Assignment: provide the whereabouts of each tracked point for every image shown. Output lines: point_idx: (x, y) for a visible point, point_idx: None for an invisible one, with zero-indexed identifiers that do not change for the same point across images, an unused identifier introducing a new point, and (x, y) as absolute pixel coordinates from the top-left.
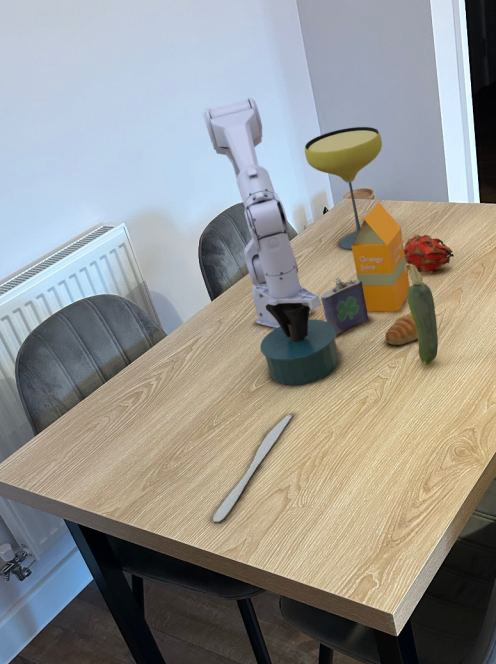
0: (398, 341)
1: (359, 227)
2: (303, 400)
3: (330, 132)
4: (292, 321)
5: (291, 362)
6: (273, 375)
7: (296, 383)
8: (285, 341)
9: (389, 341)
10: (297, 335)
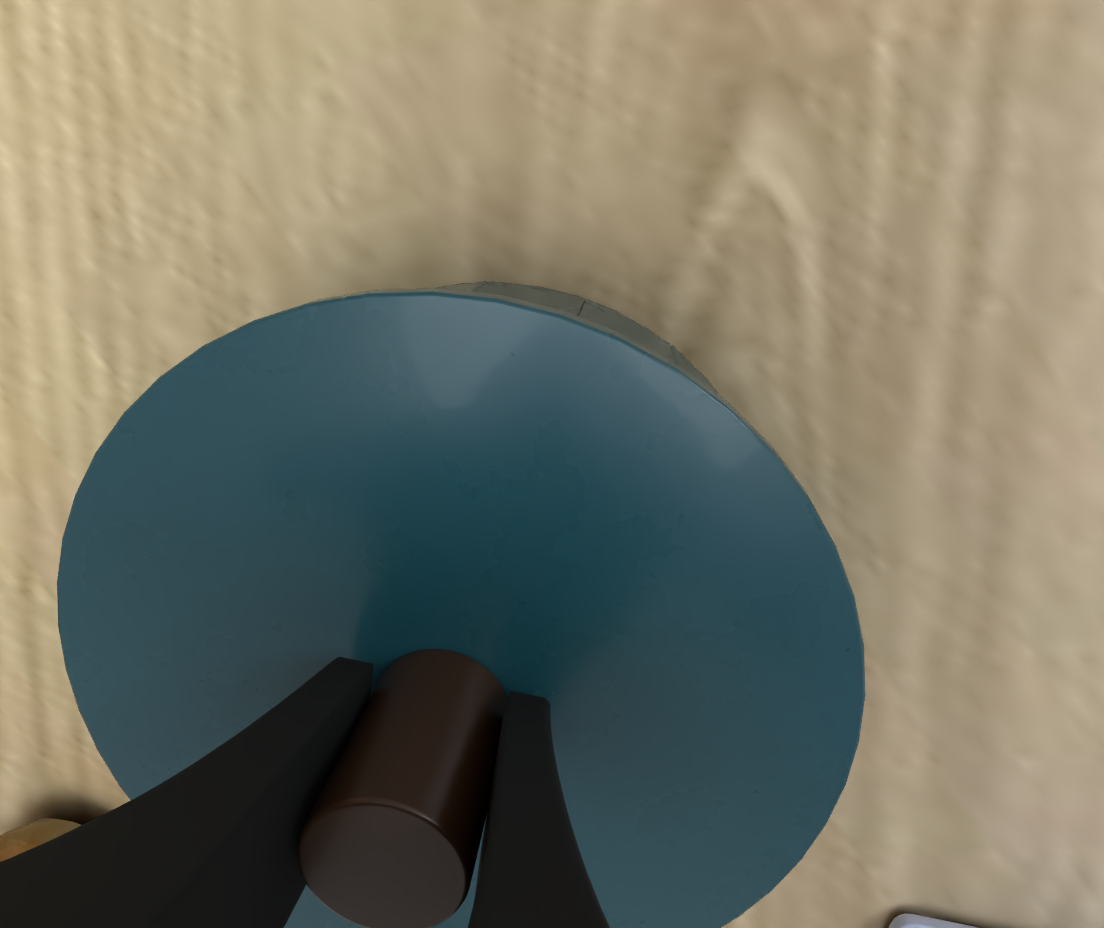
0: (1, 835)
1: None
2: (198, 103)
3: None
4: (168, 834)
5: None
6: (627, 324)
7: None
8: (545, 638)
9: (60, 833)
10: (319, 687)
